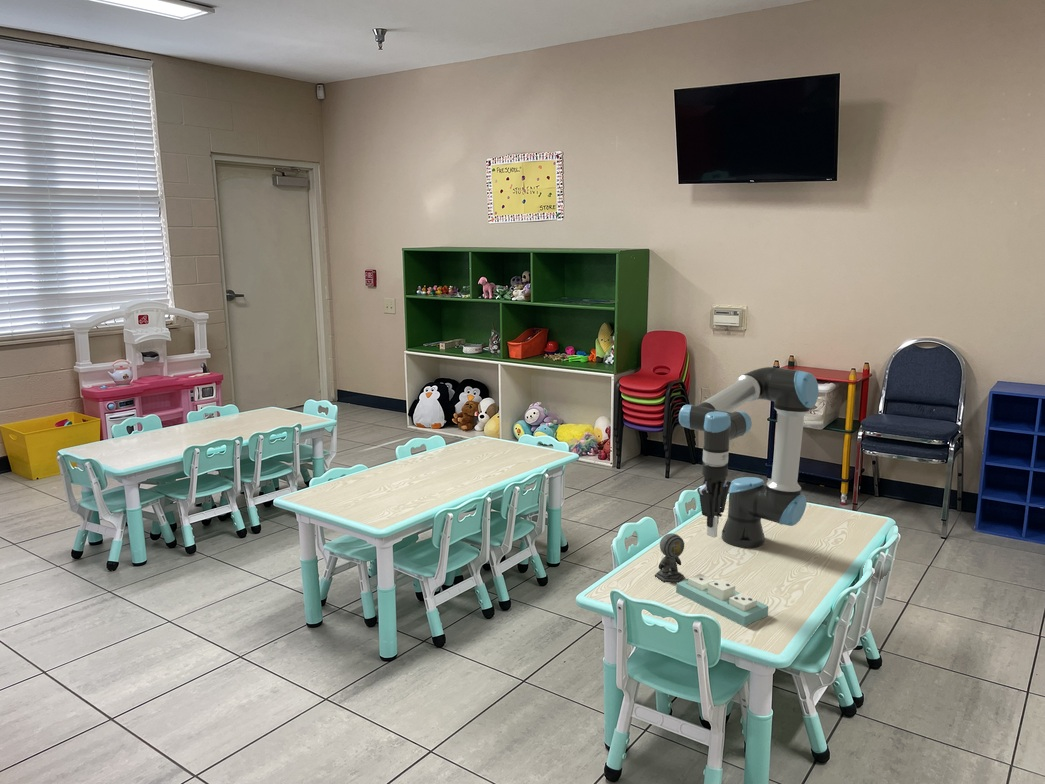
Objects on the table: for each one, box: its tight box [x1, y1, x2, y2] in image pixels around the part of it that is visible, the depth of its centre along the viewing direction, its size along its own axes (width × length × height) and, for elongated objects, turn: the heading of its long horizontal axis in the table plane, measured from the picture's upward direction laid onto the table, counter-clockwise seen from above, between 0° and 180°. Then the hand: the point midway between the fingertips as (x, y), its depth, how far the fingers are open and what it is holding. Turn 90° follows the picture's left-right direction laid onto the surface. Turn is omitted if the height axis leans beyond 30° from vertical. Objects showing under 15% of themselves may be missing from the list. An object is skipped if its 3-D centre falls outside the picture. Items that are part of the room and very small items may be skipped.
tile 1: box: [688, 573, 715, 591], centre depth 242 cm, size 6×6×4 cm
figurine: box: [654, 532, 685, 584], centre depth 252 cm, size 9×10×15 cm
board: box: [675, 579, 769, 627], centre depth 236 cm, size 26×11×3 cm, turn 36°
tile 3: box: [729, 592, 758, 612], centre depth 229 cm, size 6×6×4 cm
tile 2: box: [708, 578, 736, 601], centre depth 235 cm, size 6×6×4 cm
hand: (711, 535), depth 240 cm, fingers closed
